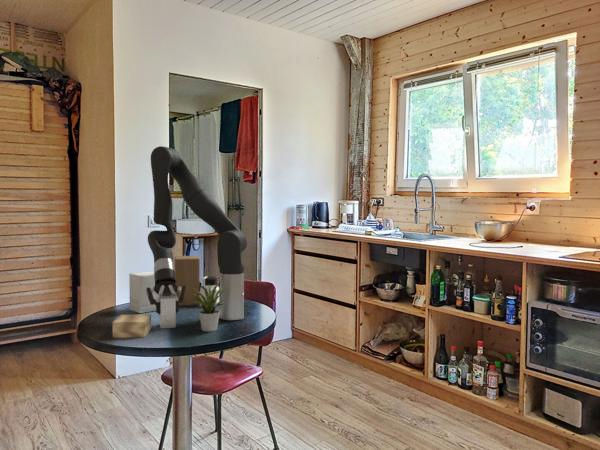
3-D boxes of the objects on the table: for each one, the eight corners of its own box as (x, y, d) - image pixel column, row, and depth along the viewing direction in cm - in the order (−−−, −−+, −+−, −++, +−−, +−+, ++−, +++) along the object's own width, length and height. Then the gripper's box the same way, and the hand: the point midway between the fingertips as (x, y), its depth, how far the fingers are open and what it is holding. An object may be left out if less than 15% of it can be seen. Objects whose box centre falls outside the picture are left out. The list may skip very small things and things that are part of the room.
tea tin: (174, 323, 168) (174, 293, 168) (175, 327, 163) (175, 295, 163) (159, 324, 166) (159, 293, 166) (160, 328, 162) (160, 296, 161)
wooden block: (174, 301, 205) (174, 256, 204) (197, 300, 208) (197, 255, 207) (175, 306, 196) (175, 258, 195) (199, 305, 199) (199, 258, 198)
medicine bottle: (219, 302, 204) (219, 275, 203) (216, 306, 197) (217, 278, 196) (202, 302, 203) (202, 275, 203) (199, 306, 196) (199, 278, 196)
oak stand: (151, 328, 161) (151, 314, 161) (144, 337, 151) (144, 321, 151) (121, 329, 160) (120, 314, 160) (112, 337, 150) (112, 322, 150)
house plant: (228, 322, 172) (228, 277, 171) (237, 332, 159) (237, 284, 158) (188, 325, 167) (189, 279, 166) (194, 335, 154) (194, 286, 153)
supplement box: (160, 310, 188) (160, 273, 188) (139, 314, 182) (139, 275, 181) (149, 306, 195) (149, 270, 194) (128, 310, 188) (128, 273, 187)
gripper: (144, 268, 168) (146, 308, 158) (185, 266, 173) (190, 305, 163) (144, 280, 173) (146, 320, 163) (183, 278, 179) (187, 316, 168)
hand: (168, 312), depth 163 cm, fingers closed on tea tin, 5 cm apart
